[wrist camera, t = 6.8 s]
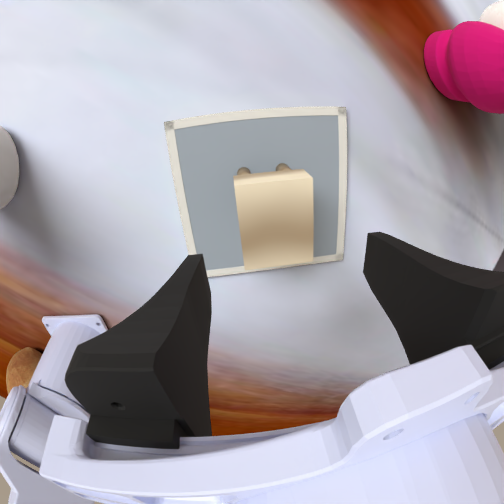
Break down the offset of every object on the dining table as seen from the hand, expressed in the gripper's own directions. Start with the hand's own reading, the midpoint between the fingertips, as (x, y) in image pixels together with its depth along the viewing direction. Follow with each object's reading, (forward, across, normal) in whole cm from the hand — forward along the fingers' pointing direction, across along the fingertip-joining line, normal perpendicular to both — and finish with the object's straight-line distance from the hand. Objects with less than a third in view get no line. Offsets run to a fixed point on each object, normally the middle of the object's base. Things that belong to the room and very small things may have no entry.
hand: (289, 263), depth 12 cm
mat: (+9, 0, 0) cm, 9 cm away
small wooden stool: (+9, 0, 0) cm, 9 cm away
